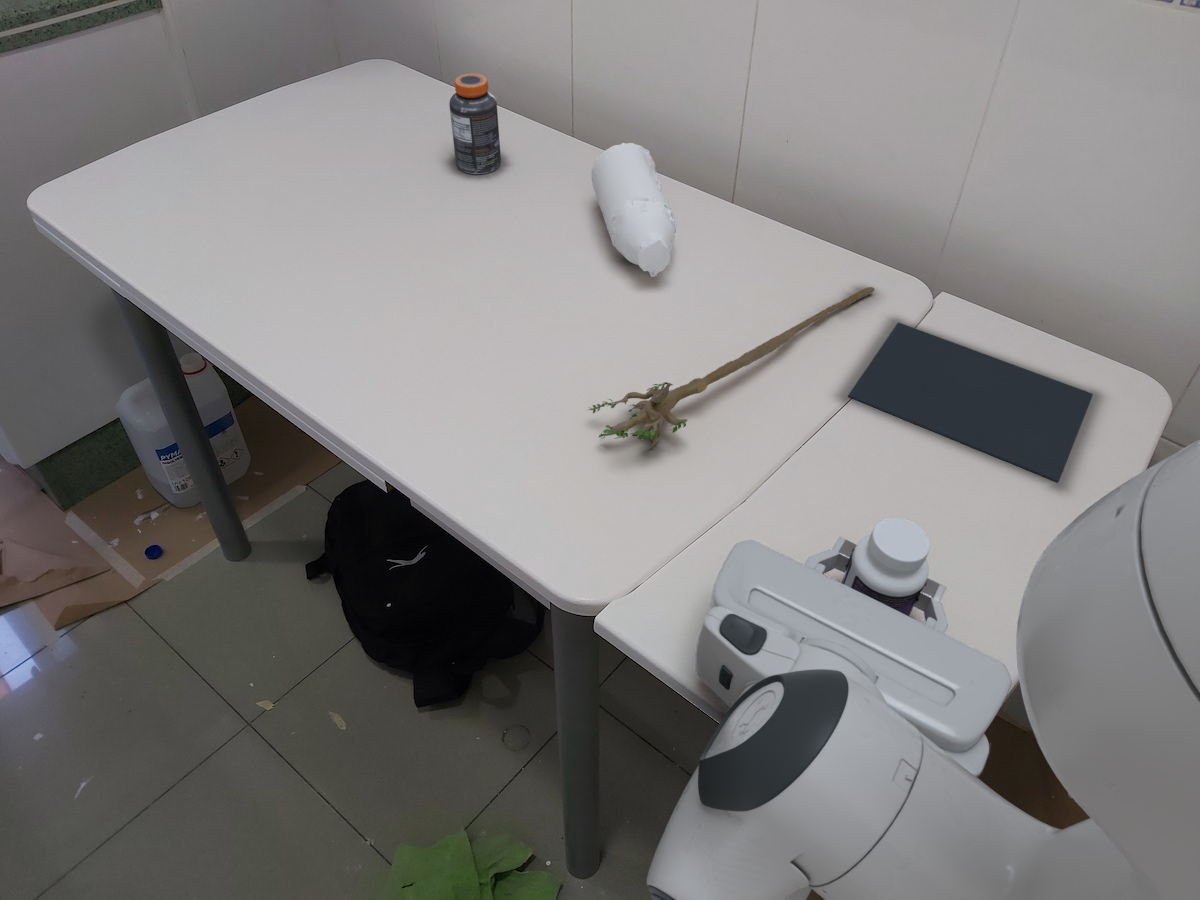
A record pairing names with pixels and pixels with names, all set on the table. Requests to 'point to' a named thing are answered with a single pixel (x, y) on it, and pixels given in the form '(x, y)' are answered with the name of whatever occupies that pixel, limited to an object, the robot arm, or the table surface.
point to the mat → (975, 400)
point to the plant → (700, 384)
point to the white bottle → (634, 206)
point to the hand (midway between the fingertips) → (889, 565)
